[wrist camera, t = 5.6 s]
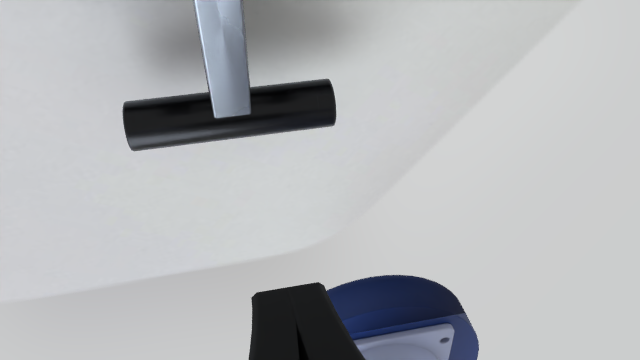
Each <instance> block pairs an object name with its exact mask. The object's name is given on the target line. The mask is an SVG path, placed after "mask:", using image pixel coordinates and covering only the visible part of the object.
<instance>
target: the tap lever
mask: <svg viewBox="0 0 640 360" xmlns="http://www.w3.org/2000/svg"><path fill="white" fill-rule="evenodd" d="M193 4H194V10H195V16H196V21H197V27H198V33H199V38H200V44H201V50H202V55H203V61H204V67H205V72H206V78H207V84H208V89H209V92H205V93H197V94H188V95H179V96H170V97H161V98H152V99H144V100H135V101H126V102H124V105H123V123H124V129H125V134H126V138H127V141H128V144H129V147H130V148H131V150H132V151H140V150H148V149H156V148H164V147H172V146H180V145H188V144H195V143H203V142H211V141H219V140H227V139H235V138H243V137H251V136H259V135H267V134H275V133H283V132H291V131H298V130H306V129H314V128H322V127H330V126H334V125H335V121H336V102H335V95H334V90H333V87H332V84H331V82H330V80H329V79H320V80H311V81H303V82H294V83H285V84H276V85H267V86H258V87H250V81H249V69H248V57H247V45H246V33H245V21H244V9H243V0H193Z"/></svg>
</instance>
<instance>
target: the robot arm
mask: <svg viewBox="0 0 640 360" xmlns="http://www.w3.org/2000/svg"><path fill="white" fill-rule="evenodd" d="M453 336H454V329H453V327H452V325H451V324H448V323H444V324H438V325H433V326H427V327H422V328H417V329H411V330H406V331H400V332H395V333H390V334H384V335H379V336H373V337H368V338H363V339H357V340H353V339H352V338H351V336H350V334H349V333H348V331H347V329H346V328H345V326H344V324H343V323H342V321H341V319H340V317H339V315H338V314H337V312H336V310H335V308H334V306H333V304H332V302H331V300H330V298H329V296H328V294H327V292H326V289H325V287H324V285H322V284H320V283H319V282H318V283H311V284H305V285H299V286H293V287H287V288H281V289H275V290H269V291H264V292H258V293H256V294H255V295H254V296H253V297H252V335H251V345H250V353H249V360H448V359H449V354H450V350H451V345H452V341H453Z"/></svg>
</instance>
